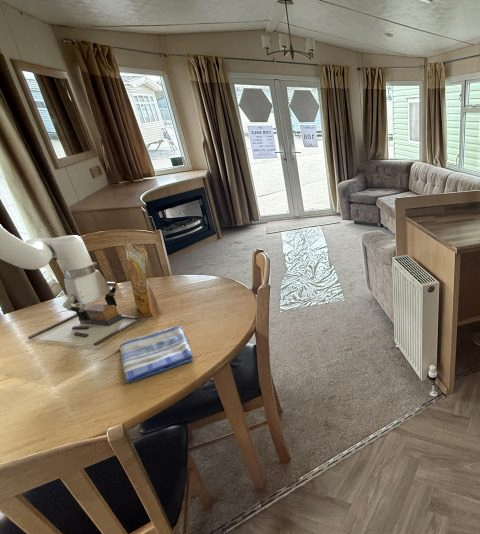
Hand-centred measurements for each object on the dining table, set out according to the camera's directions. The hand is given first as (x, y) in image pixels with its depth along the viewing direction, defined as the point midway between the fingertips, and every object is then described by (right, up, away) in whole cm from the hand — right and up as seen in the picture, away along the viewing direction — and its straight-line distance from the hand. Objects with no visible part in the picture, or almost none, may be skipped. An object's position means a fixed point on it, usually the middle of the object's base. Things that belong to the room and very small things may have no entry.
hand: (99, 312), depth 124 cm
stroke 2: (+1, -7, -7) cm, 10 cm away
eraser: (0, -3, +1) cm, 3 cm away
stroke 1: (-3, -5, -4) cm, 7 cm away
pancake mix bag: (+10, -1, +11) cm, 15 cm away
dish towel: (+33, -12, -14) cm, 37 cm away
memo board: (-1, -6, -3) cm, 7 cm away
